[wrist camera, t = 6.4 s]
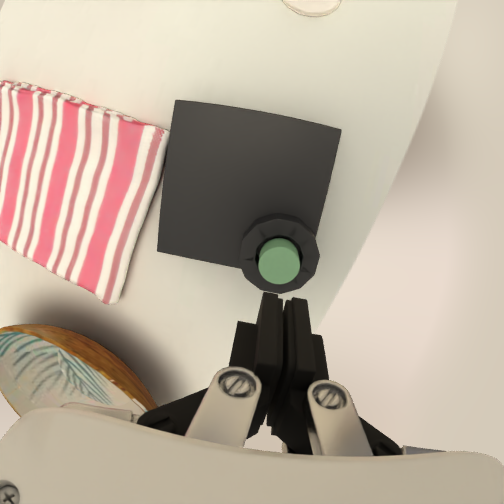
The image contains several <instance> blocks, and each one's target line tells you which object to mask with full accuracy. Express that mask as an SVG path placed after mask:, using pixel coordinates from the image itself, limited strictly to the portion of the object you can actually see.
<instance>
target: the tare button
mask: <svg viewBox="0 0 504 504" xmlns="http://www.w3.org/2000/svg"><path fill="white" fill-rule="evenodd" d="M258 265H259V271H260V273H261V275H262V276H263V278H264V279H266V280H267V281H269V282H271V283H274V284H284V283H288V282H290V281H291V280H293V279H294V278H295V277H296V275H297V274H298V272H299V269H300V261H299V255H298V251H297V248H296V247H295V245H294V244H293V243H292V242H290V241H289V240H286V239H283V238H275V239H272V240H270V241H268V242H266V243H265V244H264V245H263V247H262V248H261V251H260V256H259V264H258Z"/></svg>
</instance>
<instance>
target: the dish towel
mask: <svg viewBox="0 0 504 504" xmlns="http://www.w3.org/2000/svg"><path fill="white" fill-rule="evenodd" d="M169 136H170V131H168V130H166V129H162V128H159V127H157V126H154V125H150V124H146V123H142V122H139V121H138V120H136V119H135V118H133V117H129V116H126V115H124V114H122V113H119V112H117V111H111V110H109V109H107V108H104V107H97V106H94V105H91V104H87V103H85V102H83V100H81V99H79V98H74V97H72V96H70V95H68V94H65V93H60V92H57V91H54V90H53V91H50V90H45V89H42V88H39V87H38V86H35V85H30V84H27V83H20V82H15V83H11V82H8V81H3V82H2V81H0V241H2V242H3V243H5V244H6V245H8V247H9V248H11V249H12V250H14V251H16V252H17V253H18V254H20V255H22V256H24V257H27V258H28V259H30V260H31V261H34V262H36V263H38V264H40V265H42V266H43V267H45V268H46V269H47V270H49V271H50V272H52V273H55V274H56V275H58V276H60V277H61V278H63V279H65V280H68V281H70V282H71V283H74V284H76V285H78V286H81V287H83V288H85V289H87V290H88V291H90V292H92V293H94V294H95V295H96V296H97V297H98V298H99V299H100V300H101V301H102V302H103V303H105V304H107V305H109V304H117V303H118V302H119V298H120V294H121V291H122V288H123V286H124V282H125V279H126V275H127V270H128V266H129V263H130V259H131V255H132V252H133V250H134V246H135V243H136V240H137V238H138V234H139V232H140V229H141V227H142V225H143V222H144V219H145V217H146V214H147V212H148V209H149V206H150V202H151V200H152V197H153V195H154V193H155V191H156V188H157V186H158V183H159V180H160V176H161V172H162V168H163V163H164V160H165V155H166V151H167V147H168V143H169Z"/></svg>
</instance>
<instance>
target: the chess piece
mask: <svg viewBox="0 0 504 504" xmlns="http://www.w3.org/2000/svg"><path fill="white" fill-rule="evenodd" d="M283 2H284V3H285V4H286V5H287V6H288V7H289V8H290V9H292V10H293V11H295V12H297V13H299V14H302V15H306V16H324V15H327V14H329V13H331V12H333V11H334V10H336V9H337V8H338V6H339V5H340V2H341V0H283Z"/></svg>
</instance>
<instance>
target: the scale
mask: <svg viewBox="0 0 504 504" xmlns="http://www.w3.org/2000/svg"><path fill="white" fill-rule="evenodd" d="M340 135H341V129H337V128H334V127H330V126H326V125H322V124H318V123H314V122H309V121H305V120H301V119H296V118H292V117H287V116H282V115H277V114H272V113H267V112H261V111H256V110H250V109H244V108H238V107H232V106H225V105H218V104H210V103H202V102H194V101H184V100H175V105H174V111H173V117H172V123H171V129H170V136H169V143H168V150H167V157H166V165H165V173H164V181H163V190H162V199H161V209H160V220H159V232H158V245H157V251H158V252H163V253H167V254H172V255H177V256H182V257H186V258H191V259H196V260H201V261H206V262H211V263H215V264H220V265H225V266H230V267H235V268H240V269H242V271H243V273H244V276H245V277H246V279H247V280H249V281H250V282H251V283H252V284H254V285H255V286H256V287H258V288H259V289H260V290H263V291H268V292H273V293H279V294H282V293H285V292H289V291H293V290H296V289H299V288H301V287H302V286H303V285H304V284H305V283H306V282H307V281H308V280H310V279H311V278H312V277H313V276H314V274H315V271H316V268H317V264H318V261H319V258H320V254H319V250H318V247H317V244H316V240H315V237H316V234H317V230H318V226H319V222H320V219H321V215H322V211H323V207H324V203H325V199H326V195H327V191H328V187H329V183H330V178H331V174H332V170H333V166H334V162H335V157H336V153H337V148H338V144H339V139H340ZM275 238H283V239H286V240H289V241H290V242H292V243H293V244H294V245H295V247H296V248H297V251H298V255H299V261H300V269H299V272H298V274H297V275H296V277H295V278H294V279H293V280H291V281H290V282H288V283H284V284H274V283H271V282H269V281H267V280H266V279H264V278H263V276H262V275H261V273H260V271H259V265H258V264H259V256H260V251H261V248H262V247H263V245H264V244H265V243H266V242H268V241H270V240H272V239H275Z"/></svg>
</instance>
